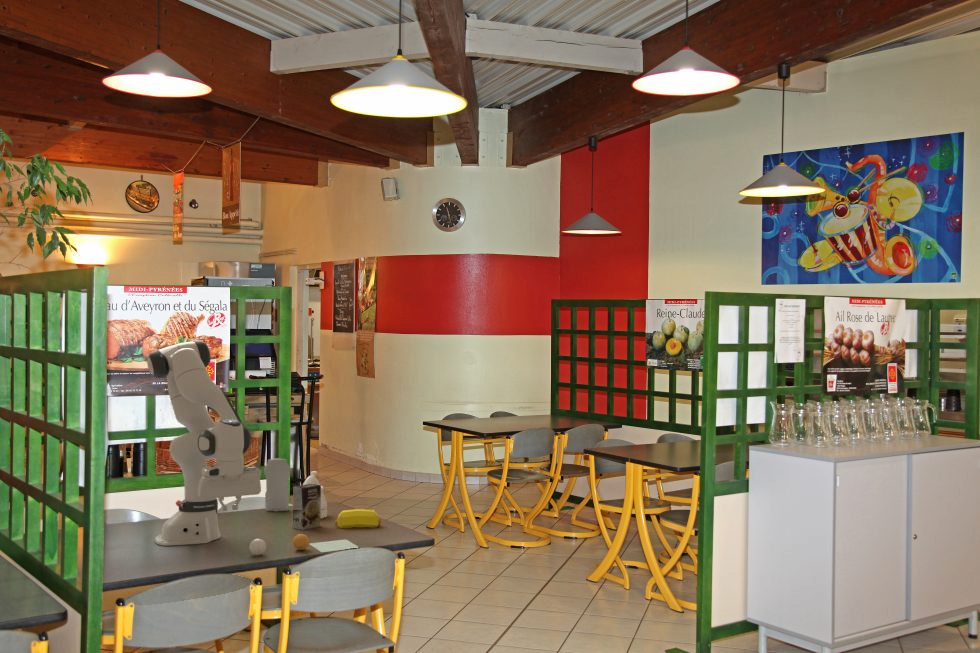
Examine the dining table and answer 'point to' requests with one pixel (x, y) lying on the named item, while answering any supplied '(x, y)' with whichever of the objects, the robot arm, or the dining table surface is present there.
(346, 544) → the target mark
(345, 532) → the dining table surface
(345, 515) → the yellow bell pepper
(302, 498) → the coffee box
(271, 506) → the tall pale column
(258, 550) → the cue ball
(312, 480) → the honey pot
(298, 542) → the object ball
